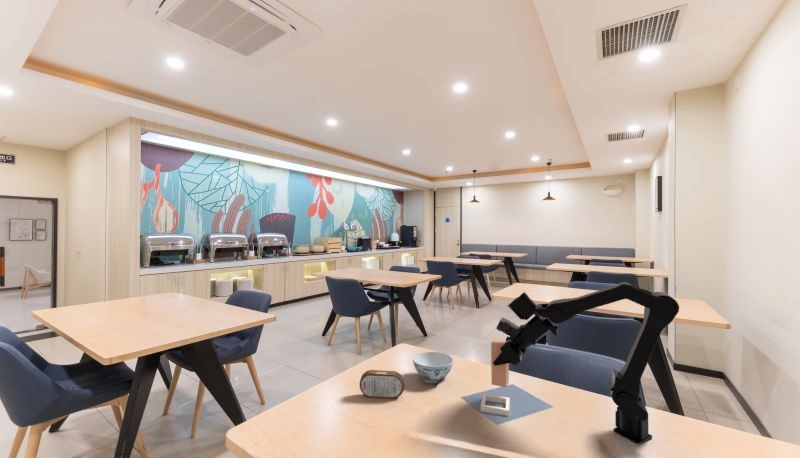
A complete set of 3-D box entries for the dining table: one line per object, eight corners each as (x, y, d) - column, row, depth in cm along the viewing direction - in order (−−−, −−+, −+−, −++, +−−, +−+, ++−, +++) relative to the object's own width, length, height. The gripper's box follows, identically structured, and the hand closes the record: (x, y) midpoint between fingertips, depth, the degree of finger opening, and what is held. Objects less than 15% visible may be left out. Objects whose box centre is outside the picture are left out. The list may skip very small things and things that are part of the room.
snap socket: (509, 402, 103) (509, 397, 103) (509, 416, 95) (508, 410, 95) (483, 398, 105) (483, 393, 105) (480, 411, 98) (480, 405, 98)
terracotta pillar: (508, 381, 106) (508, 341, 106) (506, 387, 102) (505, 345, 102) (494, 378, 108) (494, 339, 108) (491, 384, 104) (491, 343, 104)
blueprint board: (553, 410, 100) (553, 406, 100) (497, 429, 91) (497, 424, 91) (512, 387, 116) (512, 383, 116) (460, 400, 106) (460, 397, 106)
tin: (404, 395, 110) (404, 370, 110) (404, 400, 107) (404, 374, 107) (360, 393, 111) (360, 368, 112) (358, 398, 108) (358, 372, 108)
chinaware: (405, 375, 126) (405, 355, 126) (439, 368, 132) (439, 349, 132) (425, 392, 112) (425, 369, 112) (461, 383, 118) (461, 362, 119)
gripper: (517, 305, 111) (484, 333, 116) (507, 317, 95) (469, 349, 100) (542, 331, 108) (507, 359, 113) (536, 349, 91) (496, 381, 96)
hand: (495, 361), depth 105 cm, fingers closed on terracotta pillar, 4 cm apart
